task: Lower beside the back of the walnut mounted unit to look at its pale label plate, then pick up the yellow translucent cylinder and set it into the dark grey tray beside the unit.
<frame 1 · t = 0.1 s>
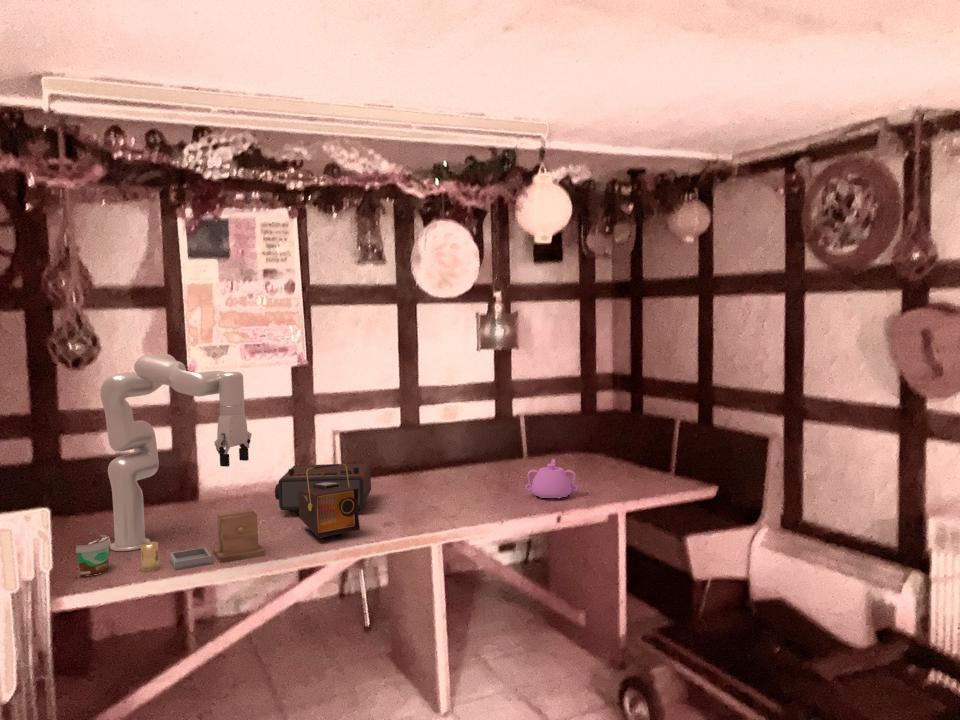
hand: (234, 463, 250), 31 cm above the table, tool pointing down, fingers open, 9 cm apart
food container: (99, 572, 241), on the table
purple lidded pot: (552, 495, 327), on the table
radio receiver: (324, 508, 313), on the table
tray: (190, 562, 248), on the table
vintage portable radio: (326, 534, 277), on the table
mounted unit: (238, 554, 256), on the table
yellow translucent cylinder: (150, 569, 242), on the table
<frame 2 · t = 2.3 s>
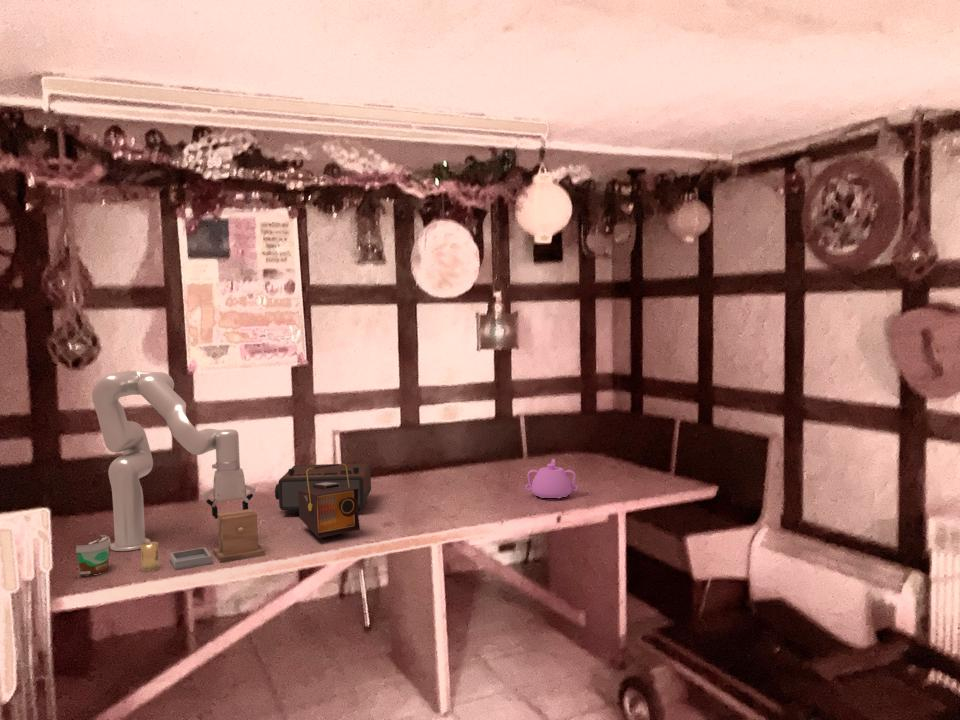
hand: (230, 515, 265), 10 cm above the table, tool pointing down, fingers open, 9 cm apart
nothing on the table moved.
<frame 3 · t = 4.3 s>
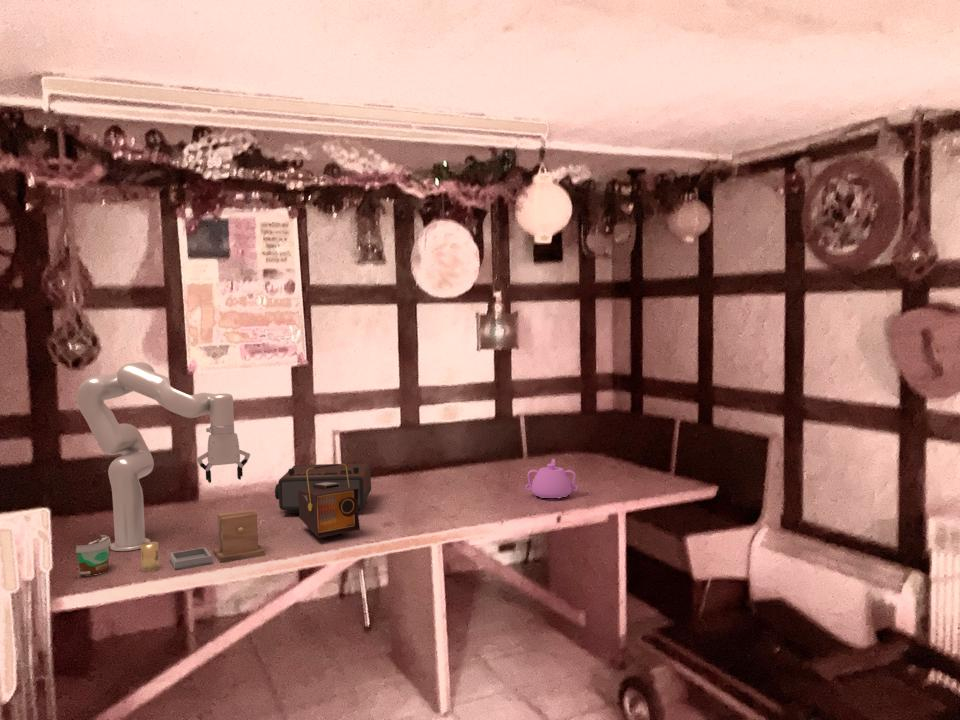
hand: (224, 480, 263), 23 cm above the table, tool pointing down, fingers open, 9 cm apart
nothing on the table moved.
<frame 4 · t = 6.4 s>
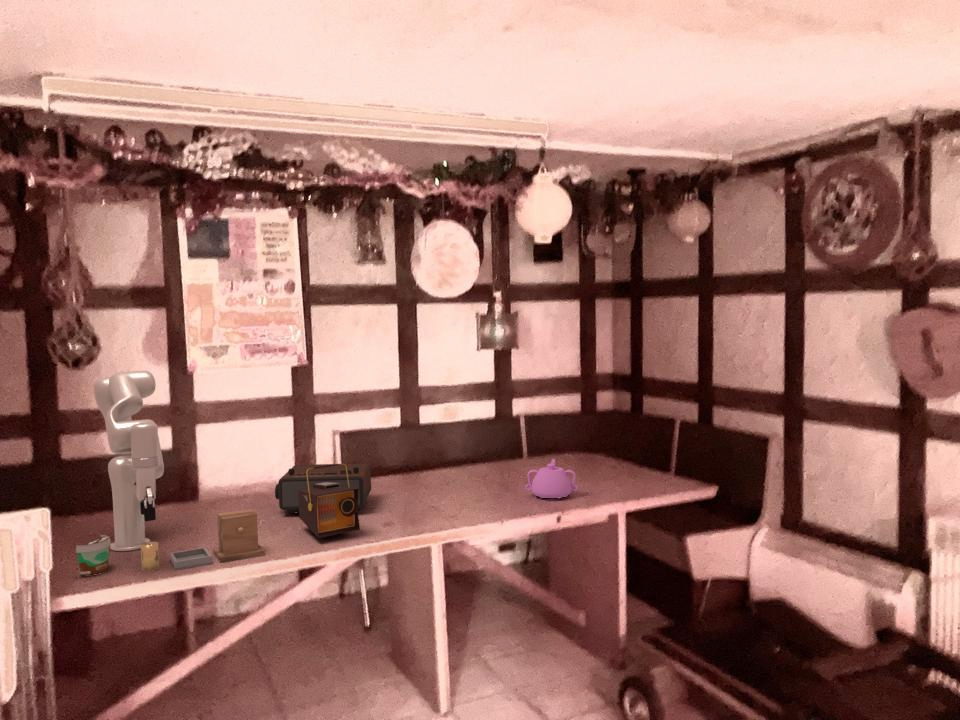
hand: (148, 517, 241), 17 cm above the table, tool pointing down, fingers open, 9 cm apart
nothing on the table moved.
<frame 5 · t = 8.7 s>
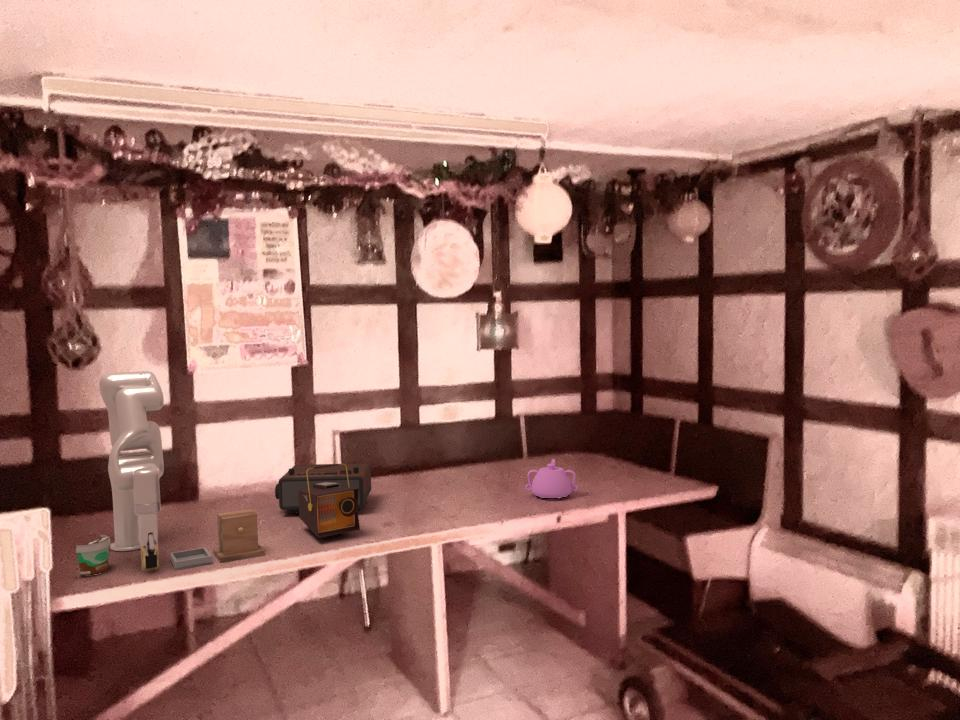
hand: (150, 564, 242), 1 cm above the table, tool pointing down, fingers closed on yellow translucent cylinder, 5 cm apart
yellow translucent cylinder: (150, 569, 242), on the table, touching gripper
everything else where it was.
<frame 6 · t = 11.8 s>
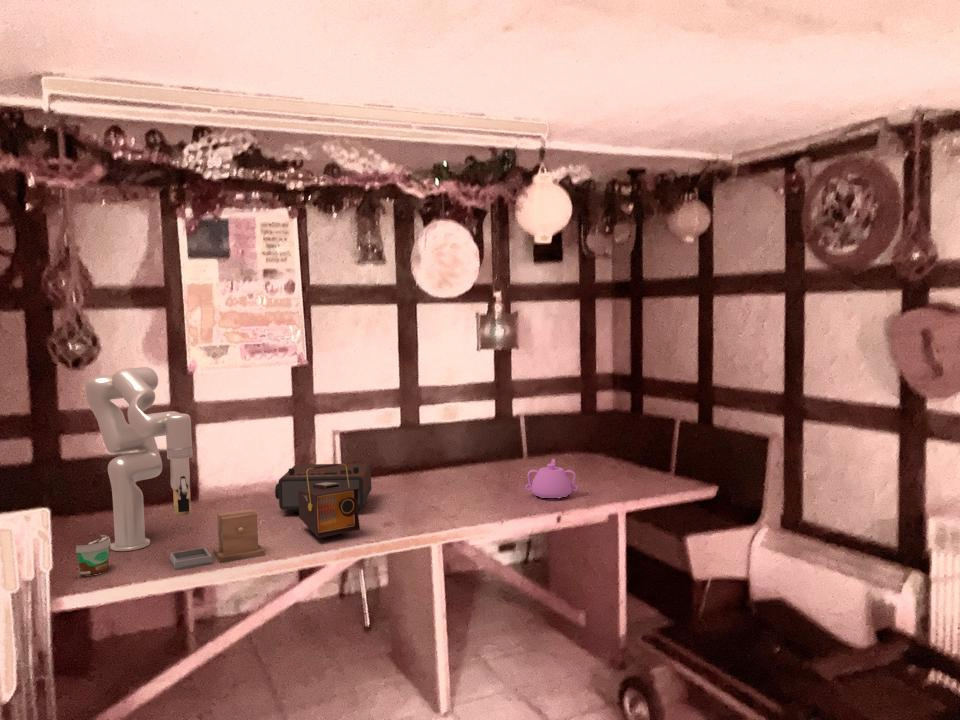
hand: (182, 509, 246), 18 cm above the table, tool pointing down, fingers closed on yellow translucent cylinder, 5 cm apart
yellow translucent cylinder: (182, 513, 246), point 16 cm above the table, touching gripper
everything else where it was.
when the fingers open (4 cm above the table, at t = 15.2 s): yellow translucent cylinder drops 2 cm, resting on tray.
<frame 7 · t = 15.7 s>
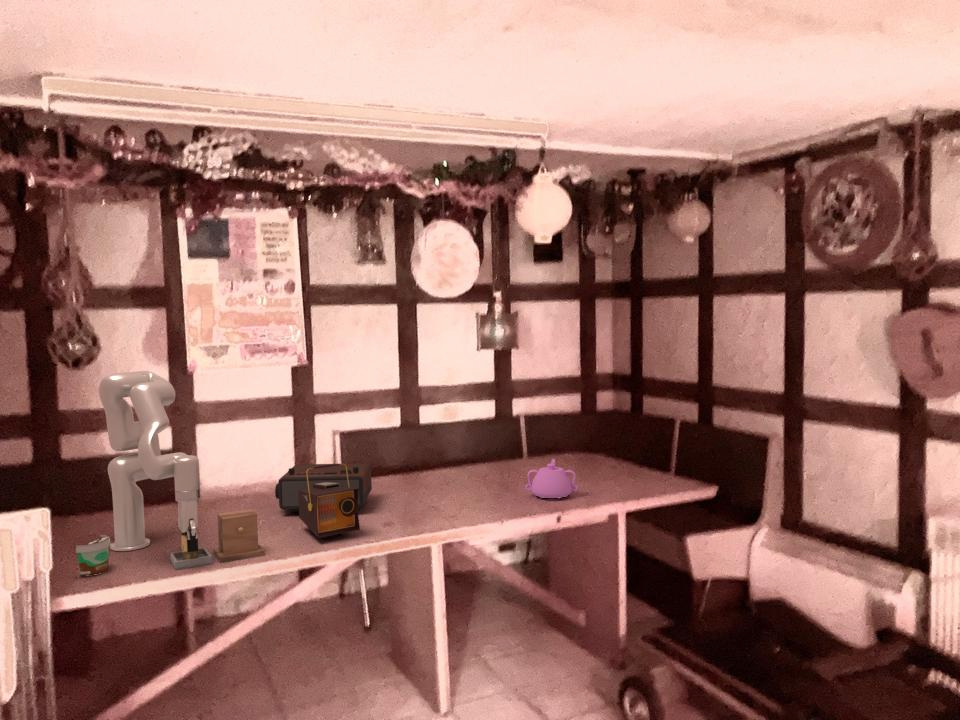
hand: (190, 547, 248), 5 cm above the table, tool pointing down, fingers open, 9 cm apart
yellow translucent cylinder: (190, 560, 248), point 1 cm above the table, touching tray
everything else where it was.
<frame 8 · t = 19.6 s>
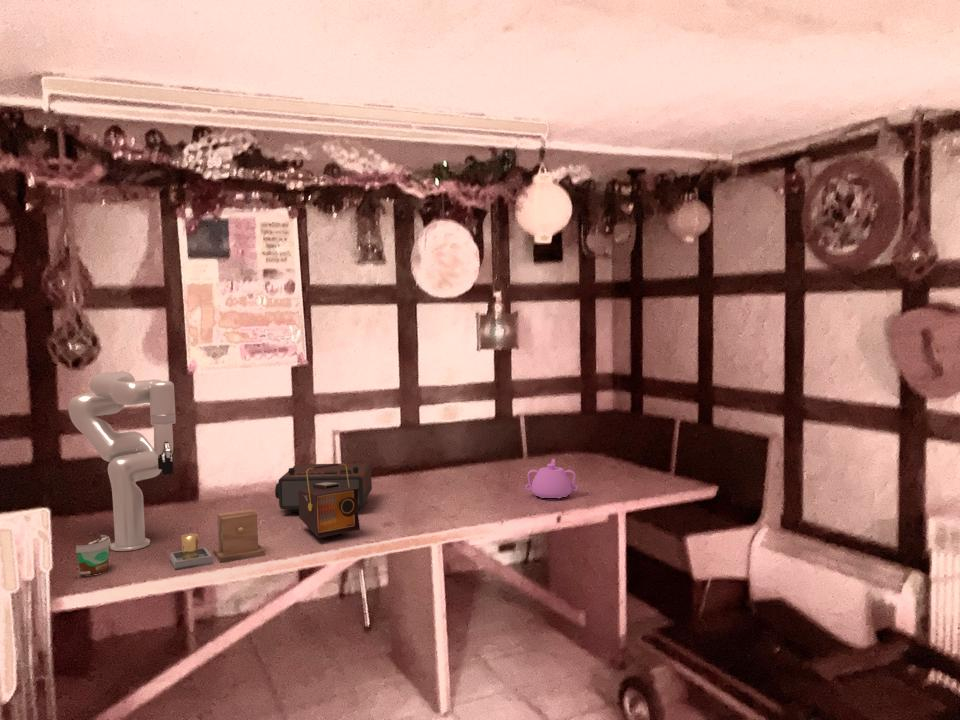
hand: (165, 471, 253), 28 cm above the table, tool pointing down, fingers open, 9 cm apart
at the end: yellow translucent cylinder 0.1 cm off-centre on the tray, point 0.7 cm above the tray's base; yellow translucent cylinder tilted 2°; the gripper is holding nothing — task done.
